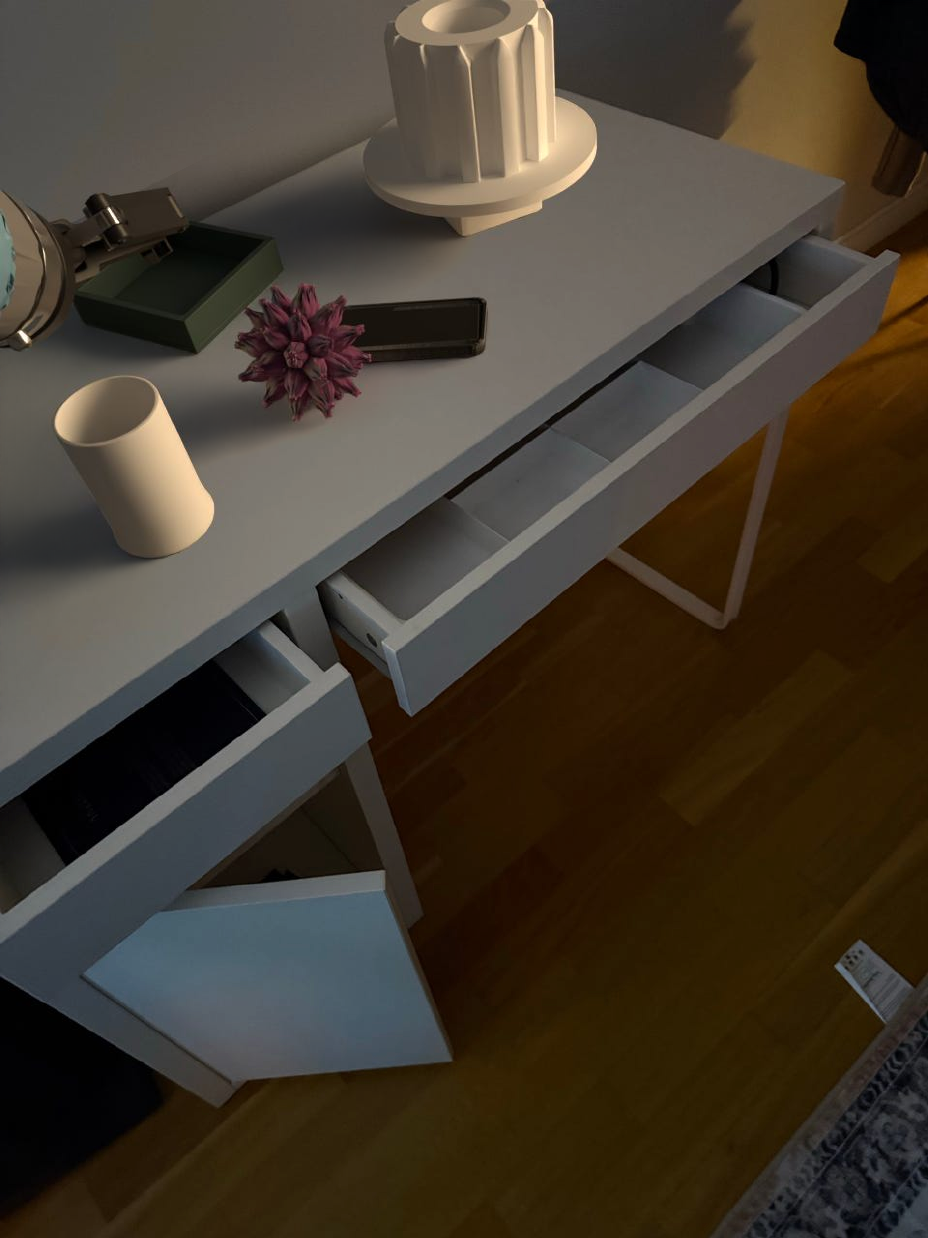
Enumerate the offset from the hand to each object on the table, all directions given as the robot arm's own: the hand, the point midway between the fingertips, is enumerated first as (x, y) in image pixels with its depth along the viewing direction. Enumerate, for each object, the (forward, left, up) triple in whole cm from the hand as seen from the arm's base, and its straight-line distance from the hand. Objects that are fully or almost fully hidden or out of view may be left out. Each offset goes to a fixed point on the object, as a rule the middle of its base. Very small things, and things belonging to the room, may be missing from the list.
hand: (61, 292), depth 64 cm
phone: (+10, +26, -19) cm, 34 cm away
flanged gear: (+6, +50, -19) cm, 54 cm away
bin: (-17, +24, -19) cm, 35 cm away
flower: (+7, +14, -19) cm, 25 cm away
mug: (+2, -2, -19) cm, 19 cm away
